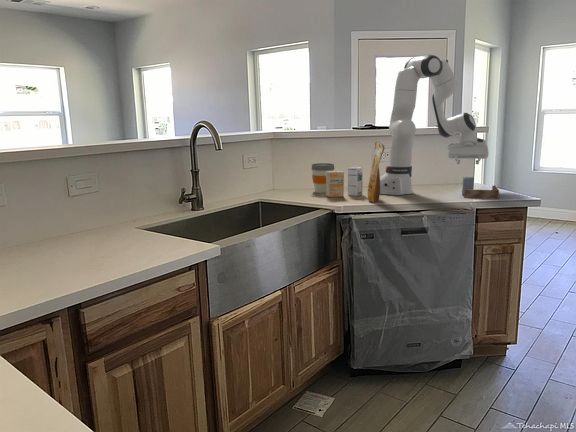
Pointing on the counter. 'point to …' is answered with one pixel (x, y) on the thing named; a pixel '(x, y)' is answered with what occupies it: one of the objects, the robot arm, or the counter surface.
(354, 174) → the syrup box
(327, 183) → the supplement box
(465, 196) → the brown wooden tray
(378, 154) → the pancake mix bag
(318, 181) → the reusable coffee cup
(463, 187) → the slate block
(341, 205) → the counter surface
